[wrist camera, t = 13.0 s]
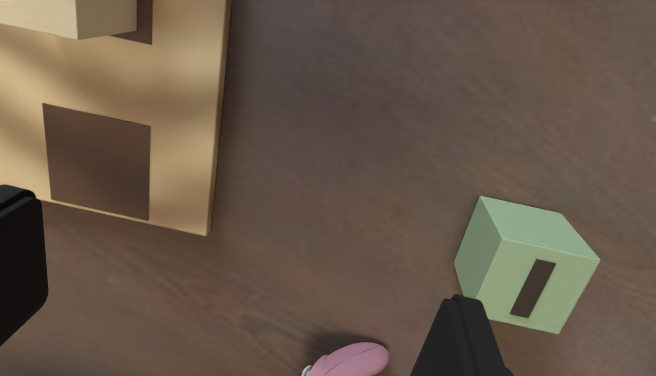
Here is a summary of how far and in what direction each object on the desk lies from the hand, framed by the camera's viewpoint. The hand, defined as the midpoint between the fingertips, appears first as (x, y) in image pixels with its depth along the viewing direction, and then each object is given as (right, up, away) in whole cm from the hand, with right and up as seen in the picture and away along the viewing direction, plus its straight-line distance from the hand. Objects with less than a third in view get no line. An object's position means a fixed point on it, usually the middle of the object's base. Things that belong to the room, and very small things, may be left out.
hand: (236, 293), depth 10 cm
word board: (-11, +9, +15) cm, 21 cm away
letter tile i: (+13, -1, +17) cm, 22 cm away
